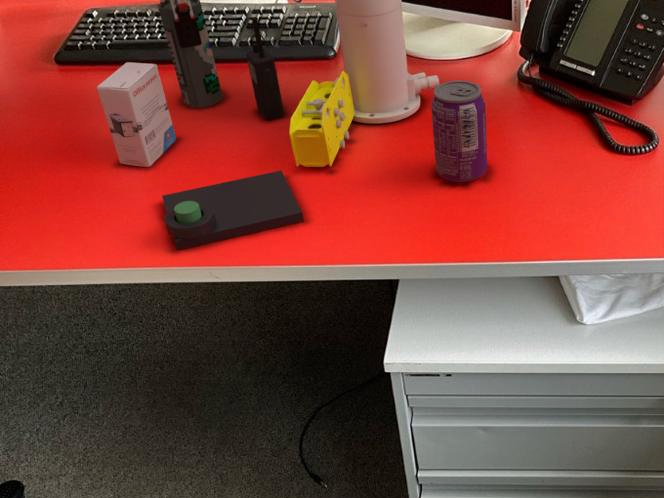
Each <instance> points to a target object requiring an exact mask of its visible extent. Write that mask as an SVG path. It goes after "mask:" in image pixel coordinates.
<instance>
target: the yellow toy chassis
mask: <svg viewBox="0 0 664 498" xmlns="http://www.w3.org/2000/svg"><path fill="white" fill-rule="evenodd" d="M354 114H355V112H354V106H353V99H352V94H351V88H350V83H349V77H348V75H347V74H346V73H345V70H342V71H341V73H340V75H339V76H337V77H336V79H335V81H322V82H321V83H319V82H318V81H316V80H314V79H312V80H311V82H310V83H309V86H308V87H307V89H306V91H305V93H304V94H303V97H302V98H301V99H300V101H299V103H298V105H297V107H296V108H295V110H294V112H293V114H292V116H291V117H290V120H289V121H290V122H289V133H288V135H289V139H290V144H291V150H292V153H293V157H294V161H295V165H296V167H297V168H298V167H299V166H300V165H301V166H303V167H305V168H324V167H326V166H328V165H329V168H330V167H332V166H333V163H334V161H335V159H336V156H337V154H338V152H339V150H340V149H345V148H346V142H345V141H346V140H349V139H350V132H349V128H350V126H351V124H352V121H353V120H352V119H353V117H354Z"/></svg>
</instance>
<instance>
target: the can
mask: <svg viewBox="0 0 664 498" xmlns="http://www.w3.org/2000/svg"><path fill="white" fill-rule="evenodd" d="M164 1H165V2H161V1H159V3H157V4H156V5H157V9H158V12H159V15H160V16H159V17H160V20H161V23H162V27H163V31H164V34H165V39H166V42H167V45H168V49H169V53H170V57H171V60H172V64H173V68H174V71H175V75H176V78H177V79H176V80H177V82H178V86H179V90H180V93H181V97H182V101H183V105H184V106H187V107H190V108H193V109H195V108H198V109H201V108H207V107H212V106H214V105H217V104H218V103H220V102H222V100H223V99H224V95H223V91H222V86H221V83H220V79H219V78H220V77H219V75H218V70H217V66H216V61H215V56H214V54H213V50H212V44H211V41H210V40H211V39H210V37H209V32H208V28H207V23H206V20H205V16H204V12H203V8H202V2H201V0H190V3H191V7H192V10H193V14H194V17H196V21H197V25H198V29H199V33H200V37H201V41H202V44H201V45H199V46H193V47H187V48H181V47H180V45H179V41H178V37H177V33H176V29H175V25H174V22H173V20H175V18H174V14H173V11H172V7H171V4H170V1H169V0H164ZM176 6H178V5H177V3H175V7H176Z"/></svg>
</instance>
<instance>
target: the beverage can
mask: <svg viewBox="0 0 664 498" xmlns="http://www.w3.org/2000/svg"><path fill="white" fill-rule="evenodd" d="M433 95H434V96H433V98H432V101H431V106H430V107H431V108H430V109H431V120H432V134H433V148H434V160H435V171H436V174H437V175H438V176H439V177H441V178H442V179H445V180H448V181H451V182H456V183H465V182H466V183H467V182H471V181H473V180H476V179H478V178H481V177H482V176H484V175H485V174H486V173H487V171H488V145H487V143H488V142H487V141H488V140H487V111H486V101H485V99H484V96H483V95H482V88H481V86H480V85H479V84H477V83H476V82H473V81H468V80H450V81H445V82H442V83H439V85H438V86H437V87H436V88H434V89H433Z"/></svg>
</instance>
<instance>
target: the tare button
mask: <svg viewBox="0 0 664 498" xmlns="http://www.w3.org/2000/svg"><path fill="white" fill-rule="evenodd" d="M174 211H175V215H176V218H177V221H178V222H179V223H191V222H195V221H197V220H199V219H201V218H202V214H201V210H200V207H199V204H198V203H197V202H194V201H185V202H181V203H179V204H177V205H176V206H175V208H174Z"/></svg>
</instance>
